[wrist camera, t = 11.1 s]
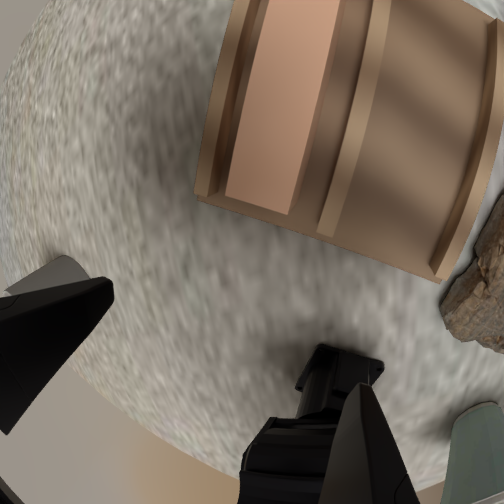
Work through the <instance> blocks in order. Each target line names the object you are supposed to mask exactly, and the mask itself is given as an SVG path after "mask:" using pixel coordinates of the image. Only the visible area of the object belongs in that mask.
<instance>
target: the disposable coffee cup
mask: <svg viewBox="0 0 504 504" xmlns="http://www.w3.org/2000/svg"><path fill="white" fill-rule="evenodd" d="M440 504H504V415H503V412H502V410H501V408H500V407H498V405H497V404H495V403H493V402H486V403H480V404H478V405H476V406H474V407H472V408H469V409H468V410H466V411H465V412H464V413H462V414H461V415H460V416H458V418H457V419H456V421H455V422H454V425H453V428H452V432H451V443H450V452H449V460H448V467H447V473H446V479H445V484H444V489H443V494H442V498H441V503H440Z"/></svg>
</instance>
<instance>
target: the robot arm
mask: <svg viewBox="0 0 504 504" xmlns="http://www.w3.org/2000/svg"><path fill="white" fill-rule="evenodd" d="M113 302H114V289H113V282H112V281H111V280H110V279H108V278H106V277H103V276H102V277H97V278H92V279H88V280H83V281H78V282H73V283H69V284H64V285H59V286H54V287H50V288H45V289H40V290H35V291H31V292H26V293H22V294H17V295H12V296H7V297H2V298H0V430H1V431H2V432H3V433H4V434H5V435H8V434H9V433H10V431H11V430H12V428H13V427H14V426H15V424H16V423H17V422H18V420H19V419H20V418H21V416H22V415H23V414H24V412H25V411H26V410H27V408H28V407H29V406H30V405H31V403H32V402H33V401H34V399H35V398H36V397H37V395H38V394H39V393H40V392H41V390H42V389H43V388H44V387H45V386H46V384H47V383H48V382H49V381H50V379H51V378H52V377H53V376H54V375H55V373H56V372H57V371H58V370H59V369H60V368H61V366H62V365H63V364H64V363H65V362H66V361H67V359H68V358H69V357H70V356H71V355H72V354H73V352H74V351H75V350H76V349H77V348H78V347H79V346H80V344H81V343H82V342H83V341H84V340H85V339H86V338H87V337H88V336H89V334H90V333H91V332H92V331H93V329H94V328H95V327H96V325H97V324H98V323H99V321H100V320H101V319H102V317H103V316H104V315H105V313H106V312H107V311H108V309H109V308H110V307H111V305H112V304H113ZM320 349H322V350H323V351H321V350H320ZM378 367H380V368H378ZM383 371H384V364H383V363H382V362H378V361H375V360H372V359H368V358H365V357H362V356H359V355H355V354H352V353H349V352H346V351H343V350H340V349H337V348H333V347H330V346H327V345H324V344H319V345H317V346H316V348H315V350H314V352H313V354H312V356H311V358H310V360H309V361H308V363H307V365H306V367H305V369H304V371H303V372H302V374H301V376H300V378H299V379H298V381H297V383H296V386H295V389H296V390H297V391H300V392H303V393H302V397H301V400H300V404H299V407H298V411H297V414H296V418H295V419H288V418H277V417H270V418H269V420H268V421H267V422H266V424H265V425H264V426H263V428H262V429H261V430H260V432H259V433H258V434H257V436H256V437H255V438H254V440H253V441H252V442H251V443H250V445H249V446H248V447H247V449H246V451H245V452H244V453H243V459H242V463H241V470H240V472H239V477H240V493H239V499H238V503H237V504H420V502H419V500H418V498H417V496H416V493H415V490H414V488H413V485H412V483H411V480H410V477H409V475H408V474H407V470H406V467H405V465H404V462H403V460H402V457H401V455H400V452H399V450H398V447H397V445H396V442H395V440H394V437H393V435H392V432H391V430H390V428H389V425H388V423H387V421H386V418H385V416H384V414H383V411H382V409H381V407H380V404H379V402H378V400H377V398H376V395H375V393H374V391H373V389H372V387H371V386H372V385H373V384H374V383H375V381H376V380H377V379H378V378H379V376H380V375H381V374H382V372H383ZM0 504H24V503H23V502H22V501H21V499H20V498H19V497H18V496H17V495H16V494H15V493H14V492H13V491H12V490H11V489H10V488H9V486H8V485H7V484H6V483H5V482H4V480H3V479H2V478H1V477H0Z"/></svg>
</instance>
